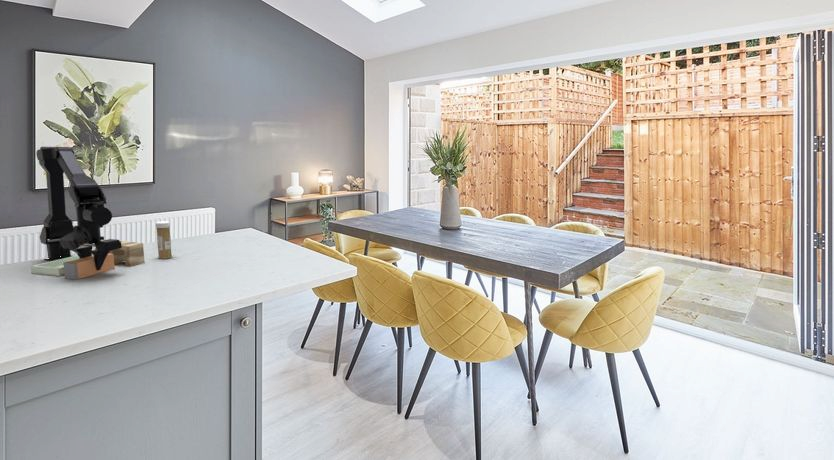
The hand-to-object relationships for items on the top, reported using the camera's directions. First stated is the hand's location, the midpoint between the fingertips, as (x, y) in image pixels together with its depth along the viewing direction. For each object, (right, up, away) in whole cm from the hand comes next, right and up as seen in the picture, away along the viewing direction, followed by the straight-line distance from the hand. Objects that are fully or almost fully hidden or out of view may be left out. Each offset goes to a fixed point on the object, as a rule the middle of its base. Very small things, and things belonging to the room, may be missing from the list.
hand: (93, 269), depth 149 cm
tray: (-10, 0, +6) cm, 12 cm away
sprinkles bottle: (+11, +2, +22) cm, 25 cm away
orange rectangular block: (0, -1, -1) cm, 1 cm away
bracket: (+3, +1, +13) cm, 13 cm away
